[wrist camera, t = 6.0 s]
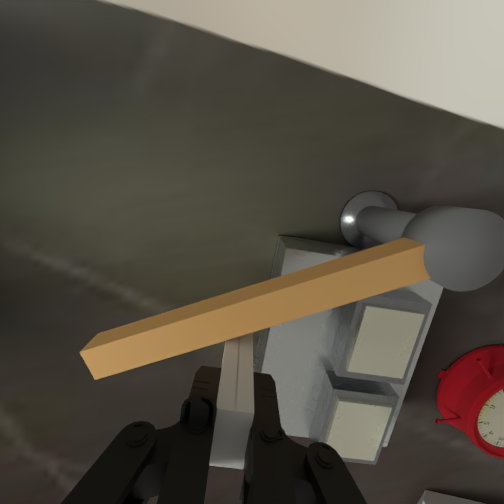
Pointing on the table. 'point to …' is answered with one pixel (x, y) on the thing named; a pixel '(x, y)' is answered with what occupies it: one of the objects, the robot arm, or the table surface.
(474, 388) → the alarm clock
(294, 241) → the grey boxy piece
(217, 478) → the table surface
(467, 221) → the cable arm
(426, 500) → the electronic device
